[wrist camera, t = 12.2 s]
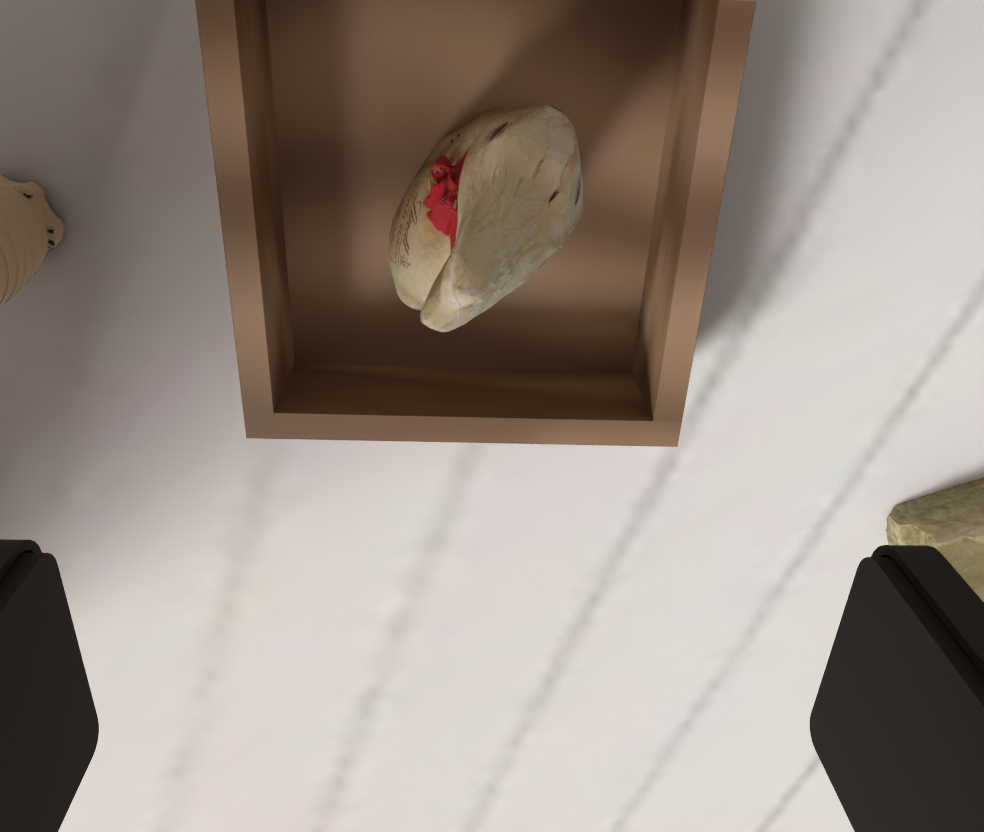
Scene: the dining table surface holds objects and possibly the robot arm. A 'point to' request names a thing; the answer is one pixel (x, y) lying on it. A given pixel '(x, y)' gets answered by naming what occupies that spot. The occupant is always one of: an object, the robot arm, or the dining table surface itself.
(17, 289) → the handle
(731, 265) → the dining table surface
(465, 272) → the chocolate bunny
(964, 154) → the dining table surface
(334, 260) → the box
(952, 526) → the decorative tile
